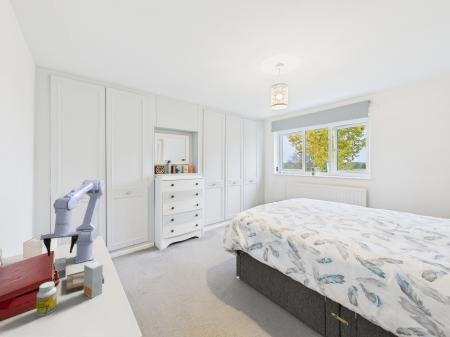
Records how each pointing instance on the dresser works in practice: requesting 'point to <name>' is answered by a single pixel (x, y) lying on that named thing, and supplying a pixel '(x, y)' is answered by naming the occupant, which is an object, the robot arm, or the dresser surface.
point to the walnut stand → (76, 282)
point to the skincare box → (93, 279)
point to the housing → (61, 267)
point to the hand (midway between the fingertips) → (60, 254)
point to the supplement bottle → (46, 299)
